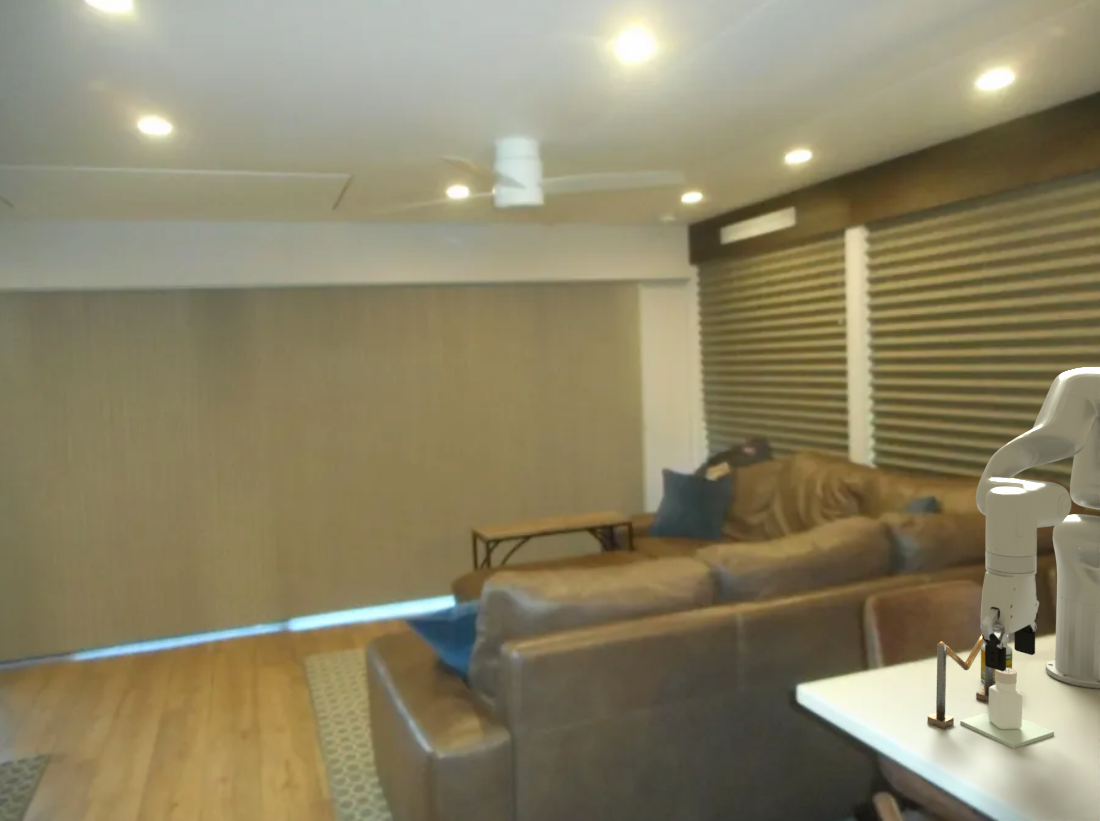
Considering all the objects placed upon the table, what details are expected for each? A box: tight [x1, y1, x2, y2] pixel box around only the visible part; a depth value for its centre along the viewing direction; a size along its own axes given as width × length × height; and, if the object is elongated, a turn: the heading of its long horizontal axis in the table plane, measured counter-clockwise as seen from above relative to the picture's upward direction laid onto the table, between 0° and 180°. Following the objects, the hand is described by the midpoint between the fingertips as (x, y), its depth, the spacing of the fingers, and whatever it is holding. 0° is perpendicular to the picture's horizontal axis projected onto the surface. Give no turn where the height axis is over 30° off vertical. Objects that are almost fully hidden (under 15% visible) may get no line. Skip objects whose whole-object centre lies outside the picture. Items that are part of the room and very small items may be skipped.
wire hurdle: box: [927, 633, 994, 730], centre depth 151 cm, size 19×3×14 cm, turn 125°
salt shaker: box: [987, 668, 1023, 729], centre depth 144 cm, size 4×4×10 cm
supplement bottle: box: [980, 632, 1013, 685], centre depth 163 cm, size 5×5×10 cm
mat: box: [959, 711, 1055, 749], centre depth 144 cm, size 10×10×1 cm
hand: (1010, 660), depth 144 cm, fingers open, 9 cm apart
